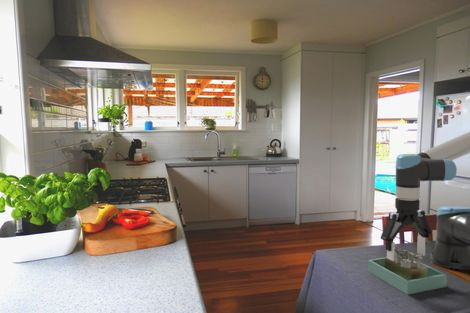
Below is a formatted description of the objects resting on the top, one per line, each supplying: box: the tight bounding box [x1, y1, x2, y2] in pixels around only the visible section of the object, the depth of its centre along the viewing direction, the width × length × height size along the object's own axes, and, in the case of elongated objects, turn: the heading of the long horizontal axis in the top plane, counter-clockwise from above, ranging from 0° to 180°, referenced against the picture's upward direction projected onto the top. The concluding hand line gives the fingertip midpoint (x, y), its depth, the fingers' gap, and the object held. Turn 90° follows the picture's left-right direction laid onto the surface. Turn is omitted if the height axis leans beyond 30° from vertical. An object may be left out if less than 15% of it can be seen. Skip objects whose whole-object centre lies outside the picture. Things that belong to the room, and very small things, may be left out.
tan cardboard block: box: [385, 256, 428, 281], centre depth 114 cm, size 7×12×6 cm, turn 17°
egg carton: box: [394, 248, 424, 268], centre depth 113 cm, size 11×8×4 cm
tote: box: [367, 256, 448, 296], centre depth 114 cm, size 17×19×5 cm
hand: (406, 256), depth 113 cm, fingers open, 13 cm apart
